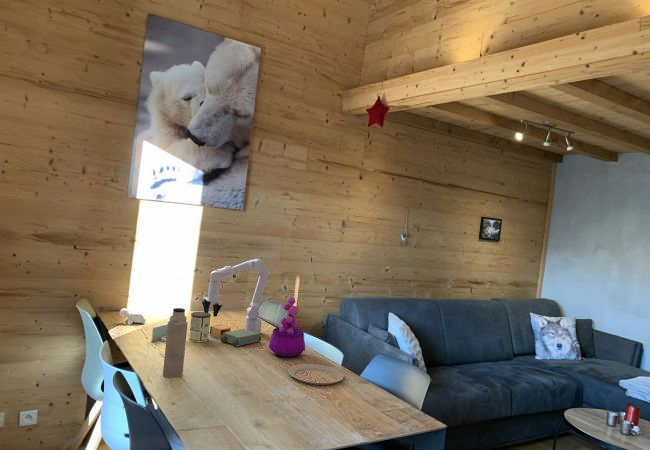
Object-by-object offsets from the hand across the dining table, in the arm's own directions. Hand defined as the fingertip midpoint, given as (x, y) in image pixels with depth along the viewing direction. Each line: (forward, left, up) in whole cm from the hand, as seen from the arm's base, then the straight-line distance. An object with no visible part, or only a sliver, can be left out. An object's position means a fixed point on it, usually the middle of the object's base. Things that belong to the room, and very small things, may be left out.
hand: (210, 315), depth 277 cm
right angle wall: (+29, +2, -11) cm, 31 cm away
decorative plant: (-4, +55, -10) cm, 56 cm away
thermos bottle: (+59, +45, -10) cm, 76 cm away
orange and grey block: (-1, +9, -10) cm, 13 cm away
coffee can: (+15, +9, -10) cm, 21 cm away
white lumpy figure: (+24, -38, -10) cm, 47 cm away
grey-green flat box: (-1, +19, -10) cm, 22 cm away
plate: (+11, +85, -10) cm, 87 cm away
